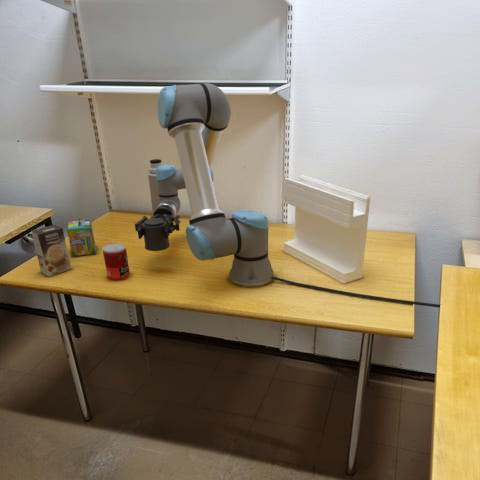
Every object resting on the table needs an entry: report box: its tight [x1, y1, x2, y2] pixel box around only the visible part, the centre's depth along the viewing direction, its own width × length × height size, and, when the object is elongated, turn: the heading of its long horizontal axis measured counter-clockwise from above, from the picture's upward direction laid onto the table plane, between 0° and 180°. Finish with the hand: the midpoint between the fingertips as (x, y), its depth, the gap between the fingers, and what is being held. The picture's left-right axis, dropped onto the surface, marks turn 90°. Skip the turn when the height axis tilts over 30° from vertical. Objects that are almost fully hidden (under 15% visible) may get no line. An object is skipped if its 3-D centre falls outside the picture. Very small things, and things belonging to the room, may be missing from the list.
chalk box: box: [66, 214, 97, 258], centre depth 188 cm, size 9×9×15 cm
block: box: [282, 174, 371, 284], centre depth 168 cm, size 35×8×28 cm, turn 31°
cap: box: [142, 217, 171, 252], centre depth 166 cm, size 9×9×9 cm
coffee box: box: [30, 224, 72, 278], centre depth 172 cm, size 9×6×16 cm
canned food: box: [102, 242, 131, 281], centre depth 168 cm, size 8×8×11 cm
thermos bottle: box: [147, 158, 163, 215], centre depth 213 cm, size 8×8×28 cm
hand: (152, 234), depth 162 cm, fingers closed on cap, 8 cm apart
